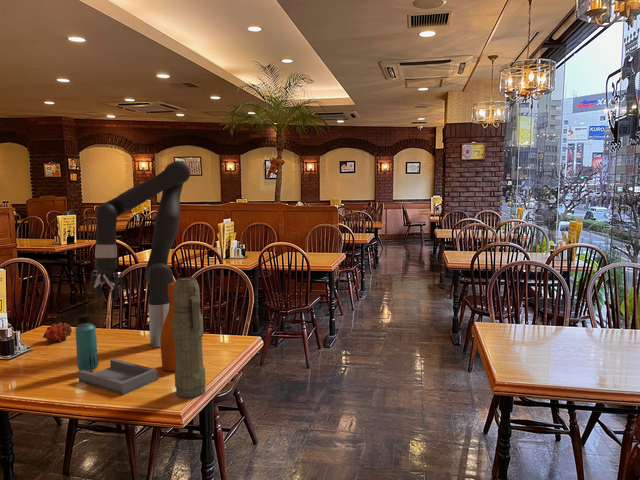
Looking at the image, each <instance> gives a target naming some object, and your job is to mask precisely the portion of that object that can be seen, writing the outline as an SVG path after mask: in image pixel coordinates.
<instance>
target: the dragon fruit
mask: <svg viewBox="0 0 640 480" xmlns="http://www.w3.org/2000/svg"><path fill="white" fill-rule="evenodd" d="M72 329H73V328H72V325H70V324H69V323H68V322H67V323H66V322H64V323H62V322H61V321H59V322H58V323H56V324H55V323H52V324H51V325H50V326H48V327H47V328H46V331H45V332H44V334H43V336H42V338H43V339H46V342H48V343H56V342H59V343H60V342H62V341H64V340H66V339H67V338H68V337H70V336H72V335H73V334H71V333H73V330H72Z"/></svg>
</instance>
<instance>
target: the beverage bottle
mask: <svg viewBox="0 0 640 480" xmlns="http://www.w3.org/2000/svg"><path fill="white" fill-rule="evenodd" d="M90 322H92V315H91V314H82V315H78V316H77V323H78V324H79V325H78V326H77V327H76V328H75V330H74V331H75V343H76V359H77V360H76V362H77V364H76V365H77V370H78V371H81V370H85V371H89V372H91V371H93V370H96V369H98V367H99V355H98V354H99V353H98V346H97V345H98V342H97V333H96V330H97V329H96V326H95V325H94V324H92V323H90Z"/></svg>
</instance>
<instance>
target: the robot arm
mask: <svg viewBox="0 0 640 480" xmlns="http://www.w3.org/2000/svg"><path fill="white" fill-rule="evenodd" d="M190 177H191V168H190V166H189V165H188V164H187V163H185V162H183V161H180V160H177V161H173V162H170V163H168V164H167V165H166V166H165V168H164V170H162V171H161V172H159V173H158V174H157V175H155V176H153V177H152V178H151V177H150V178H149V179H148V180H146V181H143V182H141V183H139V184H137V185H135V186H133V187H131V188H129V189H127V190H125V191H124V192H122V193H120V194H119V195H117V196H116V197H113V198H112V199H110V200H108V201H106V202H104V203H102V204H100V205H98V206H97V207H96V209H95V211H94V213H95V214H94V215H95V217H96V231H95V233H96V234H95V251H94V253H95V254H94V255H95V256H94V261H95V263H94V264H95V270H91V271H90V286H91V287H93V288H94V295H95V298H96V299H97V298H98V299H101V298H102V296H103V295H102V293H103V291H102V290H103V289H102V287H103V284H107V285H108V286H109V287H110V288H111V290H110V292H111V294H110V295H111V300H118V298H119V290H120V289H122V288H123V274H122V273H123V272H121V271H119V272H116V269H117V267H118V248H117V231H116V230H117V221H118V219H117V218H118V217H119V216H121V215H122V214H124V213H126V212H128V211H131V210H133V209H134V208H137V207H138V206H140V205H142V204H144V203H145V202H147V201H148V200H150V199H151V198H153V197H154V196H157V195H159V194H160V193H161V196H160V200H159V205H158V209H157V212H156V216H155V217H156V218H155V223H154V230H153V236H152V240H151V241H152V242H151V243H152V244H151V250H150V254H149V258H148V261H147V263H146V267H145V270H144V277H145V280H146V281H147V282H148V283H149V296H148V297H147V304H148V305H147V306H148V320H149V322H148V323H149V325H148V326H149V343H150V344H149V345H150V346H151V347H153V348H161V344H160V336H161V331H162V327H163V324H164V322H165V319H166V317H167V314H168V310H169V296H168V284H170V283H174V274H173V269H172V268H171V267H170V266H169V265H168V262H169V254H170V252H171V251H170V250H171V248H172V246H173V245H174V243H175V240H176V238H177V236H178V233H179V229H180V222H181V193H182V190H183V187H184V183H186V182H187V181H188V180H189V179H190Z"/></svg>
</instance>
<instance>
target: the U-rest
mask: <svg viewBox="0 0 640 480" xmlns="http://www.w3.org/2000/svg"><path fill="white" fill-rule="evenodd" d="M109 363H110V367H108V368H105V369H101V370H99V371H95V372H91V371H85V370H81V371H79V370H78V374H77V375H78V382H79V383H81V384H85V385H89V386H92V387H95V388H98V389H102V390H105V391H108V392H111V393H114V394H118V395H120V396H124V395H126V393H127V394H128V393H131V392H134V391H135V390H138V389H140V388H142V387H145V386H147V385H149V384H151V383H154V382H156V381H158V380H159V379H158V369H156V368H153V367H148V366H144V365H141V364H136V363H132V362H128V361H124V360H120V359H116V358H112V359H110V360H109Z"/></svg>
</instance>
